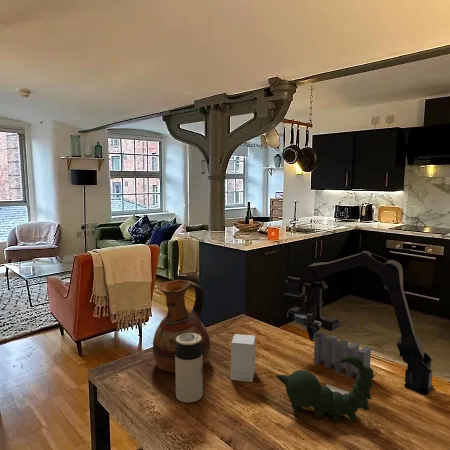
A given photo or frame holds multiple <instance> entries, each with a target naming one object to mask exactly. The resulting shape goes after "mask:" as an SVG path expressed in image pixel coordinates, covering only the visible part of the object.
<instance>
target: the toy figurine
mask: <svg viewBox="0 0 450 450" xmlns="http://www.w3.org/2000/svg"><path fill="white" fill-rule="evenodd" d="M344 362H348V363H351V364H352V365H353V366H354V367H356V368H357V369H359V374H358V375H357V374H356V376H355V377H356V378H355V382H354V383H353V385H352V389H351V390H350V391H348V392H349V393H348V394H344V395H343V394H341V393H339V392H332V391H331V389H330V388H328V387H327V386H325V385H324V384H321V383H320V380H319V379H318V378H317V377H316V375H315V374H314V373H312V372H310V371H308V370H305V369H299V370H296V371H294V372H292V373H290V374H288V375H287V374H275V378H277V379H278V380H279V381H280V382H281V383H282V384H283V385H284V386H285V392H286V395H287V397H288V399H289V402H290V403H291V408H292V409H293V410H294V411H297V412H299V411H301V410H302V408H310V407H312V408H313V409H314V416H315V417H317V418H318V419H322V418H323V417H324V416H325V413H328V414H329V415H330V416H332V417H331V419H332V421H333V422H334V423H339V422H340V420H341V417H343V416H345V415H346V416H347V417H348V420H350V421H351V422H355V421H356V420H357V415H356V412H357V411H358V409H363V411H365V412H367V411H369V410H370V406H369V400H372V395H371V393H370V392H371V389H372V388H373V387H374V385H373V380H372V379H374V378H375V374H374V369H372V368H371V366H370V367H368V366H364V364H363V362H362V360H361V359H360V358H358V357H356V356H345V357H343V358H342V359H341V360H340V363H344Z"/></svg>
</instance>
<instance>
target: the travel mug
mask: <svg viewBox="0 0 450 450" xmlns="http://www.w3.org/2000/svg"><path fill="white" fill-rule="evenodd" d="M201 339H202V338H201V336H200V335H199V334H196V333H184V334H181V335H179V336H177V337H176V341H177V346H176V348H175V371H176V372H175V397H176V399H177V400H178V401H180V402H182V403H187V404H188V403H190V404H191V403H194V402H198V401H199V400H200V399H202V397H203V394H204V393H203V392H204V391H203V388H204V387H203V385H204V384H203V383H204V382H203V379H204V378H203V375H204V374H203V373H204V372H203V371H204V370H203V368H204V367H203V365H204V364H203V355H202V346H201V344H200V341H201Z"/></svg>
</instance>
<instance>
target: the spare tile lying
mask: <svg viewBox="0 0 450 450" xmlns="http://www.w3.org/2000/svg"><path fill="white" fill-rule="evenodd" d="M325 386H327V387H328V388H330V389H331V391H332V392H339V393H341V394H343V395H344V394H348V393H349V392H350V391H347V390H344V389H342V388H339V387H336V386H334V385H331V384H328V383H326V385H325Z"/></svg>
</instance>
